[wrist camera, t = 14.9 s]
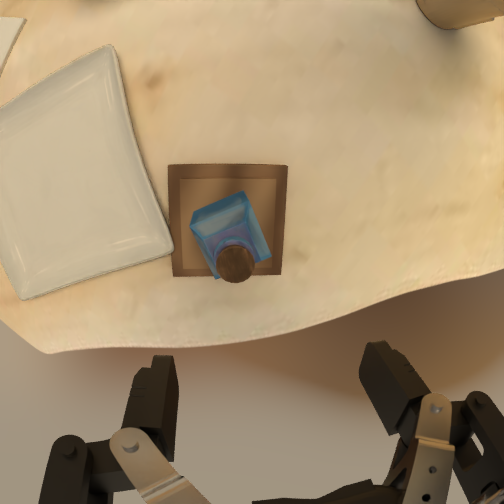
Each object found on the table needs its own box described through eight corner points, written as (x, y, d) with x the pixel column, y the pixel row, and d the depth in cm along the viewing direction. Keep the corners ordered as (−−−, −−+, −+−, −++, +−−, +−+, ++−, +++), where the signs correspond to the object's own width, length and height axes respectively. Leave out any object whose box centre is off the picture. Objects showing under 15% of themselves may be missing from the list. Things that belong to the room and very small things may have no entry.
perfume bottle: (262, 237, 36) (284, 282, 25) (215, 257, 36) (216, 309, 25) (243, 190, 34) (257, 215, 23) (193, 211, 34) (183, 246, 23)
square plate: (30, 292, 38) (19, 304, 34) (-23, 135, 28) (-39, 137, 24) (179, 243, 38) (176, 254, 35) (121, 47, 28) (112, 39, 25)
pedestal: (284, 165, 36) (289, 167, 34) (278, 269, 41) (282, 278, 39) (169, 164, 34) (166, 166, 32) (174, 271, 39) (172, 280, 37)
